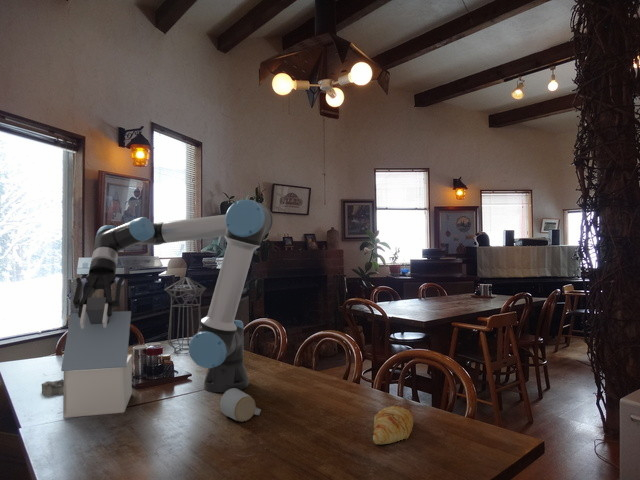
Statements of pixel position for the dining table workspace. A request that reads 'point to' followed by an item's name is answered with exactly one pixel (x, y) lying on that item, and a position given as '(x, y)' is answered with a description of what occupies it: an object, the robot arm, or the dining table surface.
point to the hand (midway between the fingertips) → (93, 325)
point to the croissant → (392, 425)
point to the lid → (97, 339)
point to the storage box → (97, 391)
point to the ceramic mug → (238, 405)
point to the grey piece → (53, 387)
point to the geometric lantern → (183, 309)
